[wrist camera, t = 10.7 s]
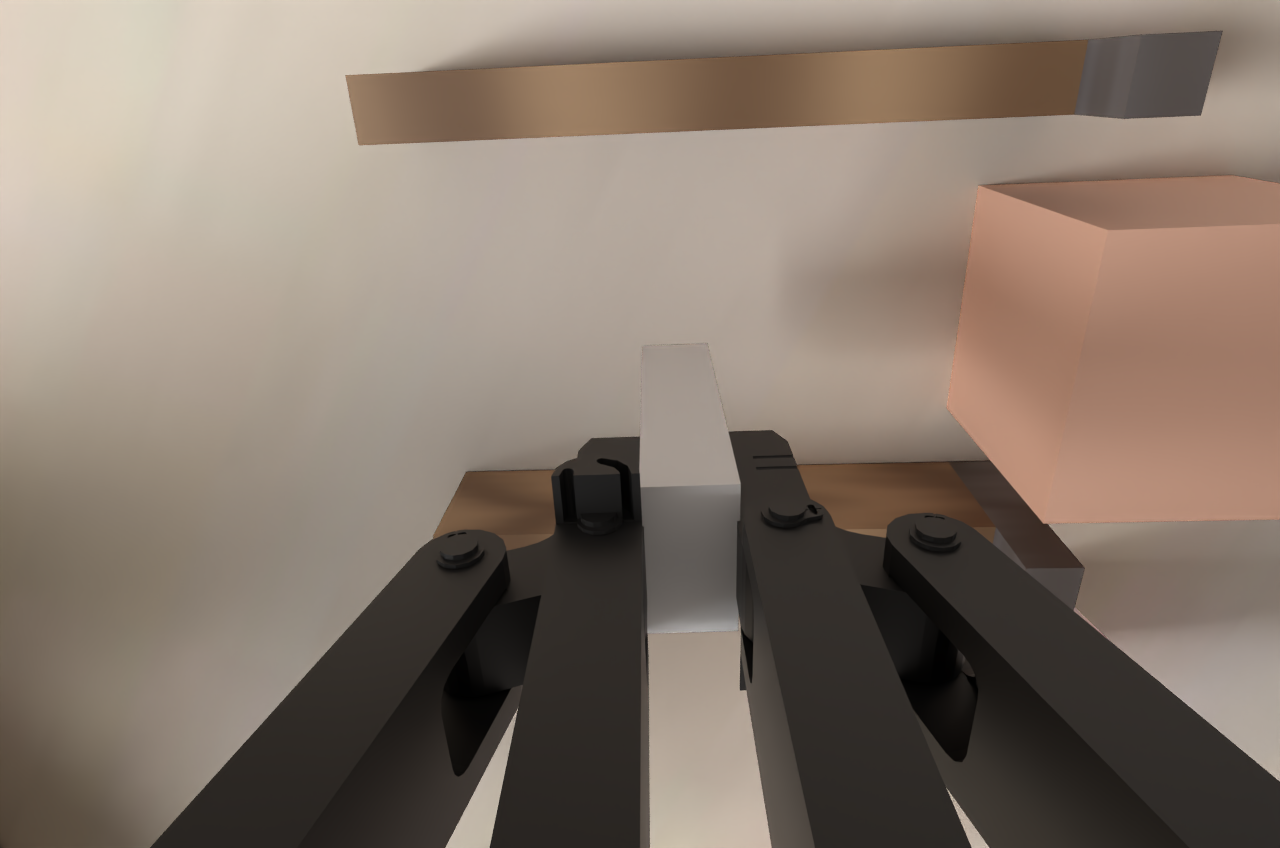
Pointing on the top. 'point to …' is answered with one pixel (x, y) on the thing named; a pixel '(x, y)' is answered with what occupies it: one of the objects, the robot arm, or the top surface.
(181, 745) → the top surface
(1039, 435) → the block
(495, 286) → the top surface
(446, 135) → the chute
